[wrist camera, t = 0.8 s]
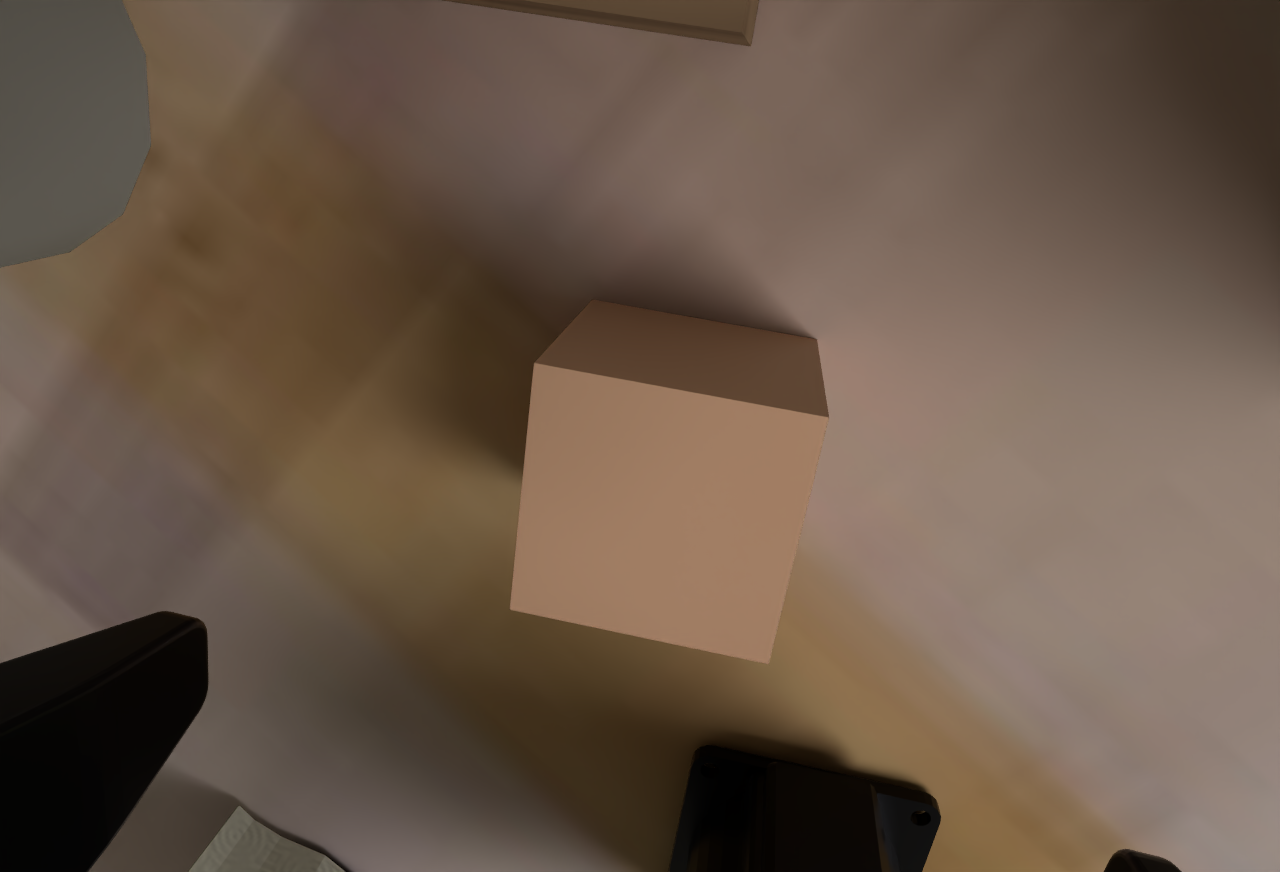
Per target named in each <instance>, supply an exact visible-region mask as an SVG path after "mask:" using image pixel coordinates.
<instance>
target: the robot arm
mask: <svg viewBox="0 0 1280 872" xmlns="http://www.w3.org/2000/svg"><path fill="white" fill-rule="evenodd" d="M207 691H208V640H207V629H206V626H205V624H204V623H203V622H202V621H201V620H199V619H198V618H194V617H190V616H186V615H182V614H178V613H174V612H169V611H161V612H157V613H154V614H151V615H147V616H144V617H141V618H138V619H135V620H132V621H129V622H126V623H123V624H120V625H117V626H114V627H111V628H107V629H104V630H101V631H98V632H95V633H92V634H89V635H86V636H83V637H80V638H77V639H74V640H70V641H67V642H64V643H61V644H58V645H55V646H52V647H49V648H46V649H43V650H40V651H37V652H33V653H30V654H27V655H24V656H21V657H18V658H15V659H12V660H9V661H6V662H3V663H0V872H88V871H89V870H90V868H91V867H92V866H93V865H94V863H95V862H96V861H97V859H98V858H99V857H100V856H101V854H102V853H103V852H104V850H105V849H106V848H107V847H108V845H109V844H110V843H111V841H112V840H113V838H114V837H115V836H116V834H117V833H118V831H119V830H120V829H121V827H122V826H123V824H124V823H125V821H126V820H127V818H128V817H129V816H130V814H131V813H132V811H133V810H134V808H135V807H136V805H137V804H138V802H139V801H140V799H141V798H142V796H143V795H144V793H145V792H146V790H147V789H148V787H149V786H150V784H151V783H152V781H153V780H154V778H155V777H156V775H157V774H158V772H159V771H160V769H161V768H162V766H163V765H164V763H165V762H166V760H167V759H168V757H169V756H170V754H171V753H172V751H173V750H174V748H175V747H176V745H177V744H178V742H179V741H180V739H181V738H182V736H183V735H184V733H185V732H186V730H187V729H188V727H189V726H190V724H191V723H192V722H193V720H194V719H195V717H196V716H197V714H198V713H199V711H200V709H201V707H202V705H203V703H204V701H205V698H206V695H207ZM706 763H712V764H714V765H717V767H715V768H710V767H707V766H705V765H704V764H706ZM916 811H925V812H924V813H922V814H915V813H913V812H916ZM940 821H941V815H940V811H939V806H938V803H937V801H936V799H935V798H934V797H933V796H931V795H930V794H927V793H925V792H921V791H917V790H912V789H908V788H903V787H899V786H894V785H890V784H885V783H881V782H876V781H872V780H867V779H863V778H858V777H854V776H849V775H845V774H840V773H836V772H831V771H827V770H822V769H818V768H813V767H809V766H804V765H800V764H795V763H791V762H786V761H782V760H777V759H772V758H768V757H763V756H759V755H754V754H750V753H745V752H741V751H736V750H732V749H727V748H723V747H718V746H712V745H706V746H702V747H700V748H698V749H697V750H696V751H695V753H694V755H693V758H692V762H691V767H690V772H689V776H688V781H687V786H686V790H685V795H684V800H683V805H682V809H681V814H680V819H679V823H678V828H677V833H676V837H675V842H674V847H673V851H672V856H671V861H670V865H669V870H668V872H922V870H923V868H924V865H925V862H926V860H927V857H928V854H929V851H930V849H931V846H932V843H933V841H934V838H935V835H936V833H937V830H938V827H939V825H940ZM1104 872H1182V871H1180V870H1179V869H1178V868H1177V867H1176V866H1175V865H1174V864H1173V863H1171V862H1170V861H1168V860H1166V859H1164V858H1161V857H1158V856H1154V855H1150V854H1146V853H1142V852H1138V851H1134V850H1130V849H1122V850H1119V851H1117V852H1116V853H1114V854H1113V856H1112V857H1111V859H1110V860H1109V862H1108V864H1107V866H1106V868H1105V870H1104Z"/></svg>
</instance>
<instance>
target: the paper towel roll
mask: <svg viewBox="0 0 1280 872" xmlns="http://www.w3.org/2000/svg"><path fill="white" fill-rule="evenodd" d="M188 872H345V871H344V870H343V869H341V868H340V867H339V866H338V865H336V864H335V863H334V862H333V861H332V860H330V859H329V858H328V857H327V856H325V855H323V854H321V853H318V852H316V851H314V850H311V849H309V848H307V847H304V846H302V845H300V844H297V843H295V842H293V841H290V840H288V839H286V838H283V837H281V836H280V835H278V834H276V833H275V832H273V831H272V830H270V829H268V828H267V827H265V826H264V825H262V824H260V823H259V822H257V821H256V820H254V819H253V818H252V817H251V816H250V815H249V814H248V813H247V812H246V811H245V810H244V809H242V808H241V807H240V806H238V807H237V808H236V809H235V811H234V812H233V813H232V815H231V816H230V817H229V819H228V820H227V821H226V823H225V824H224V825H223V826H222V828H221V829H220V830H219V832H218V833H217V834H216V836H215V837H214V838H213V840H212V841H211V842H210V843H209V845H208V846H207V847H206V849H205V850H204V851H203V853H202V854H201V855H200V857H199V858H198V859H197V861H196V862H195V863H194V864H193V866H192V867H191V868H190V870H189V871H188Z"/></svg>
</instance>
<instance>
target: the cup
mask: <svg viewBox="0 0 1280 872" xmlns="http://www.w3.org/2000/svg"><path fill="white" fill-rule="evenodd" d="M150 146H151V137H150V120H149V103H148V86H147V70H146V54H145V52H144V50H143V47H142V45H141V43H140V41H139V38H138V36H137V34H136V32H135V29H134V27H133V25H132V22H131V20H130V18H129V16H128V13H127V11H126V9H125V7H124V4H123V2H122V0H0V268H1V267H5V266H10V265H14V264H19V263H23V262H28V261H32V260H37V259H41V258H46V257H50V256H55V255H59V254H64V253H68V252H71V251H72V250H73V249H75V248H76V247H78V246H79V245H80V244H82V243H83V242H85V241H86V240H87V239H89V238H90V237H92V236H93V235H94V234H96V233H97V232H99V231H100V230H101V229H103V228H104V227H106V226H107V225H108V224H110V223H111V222H113V221H114V220H115V219H117V218H118V217H120V216H121V215H122V214H123V213H124V210H125V208H126V205H127V203H128V200H129V198H130V195H131V193H132V191H133V188H134V186H135V183H136V181H137V178H138V176H139V173H140V171H141V168H142V166H143V163H144V161H145V158H146V156H147V153H148V151H149V149H150Z"/></svg>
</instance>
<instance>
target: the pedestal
mask: <svg viewBox="0 0 1280 872" xmlns="http://www.w3.org/2000/svg"><path fill="white" fill-rule="evenodd" d="M444 1H451V2H457V3H464V4H471V5H478V6H484V7H491V8H498V9H504V10H511V11H518V12H524V13H531V14H538V15H545V16H551V17H558V18H565V19H571V20H578V21H585V22H591V23H598V24H605V25H612V26H618V27H625V28H632V29H638V30H645V31H652V32H658V33H665V34H672V35H679V36H685V37H692V38H699V39H705V40H712V41H719V42H725V43H732V44H739V45H746V46H751V43H752V37H753V31H754V26H755V20H756V14H757V9H758V3H759V0H444Z"/></svg>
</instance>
